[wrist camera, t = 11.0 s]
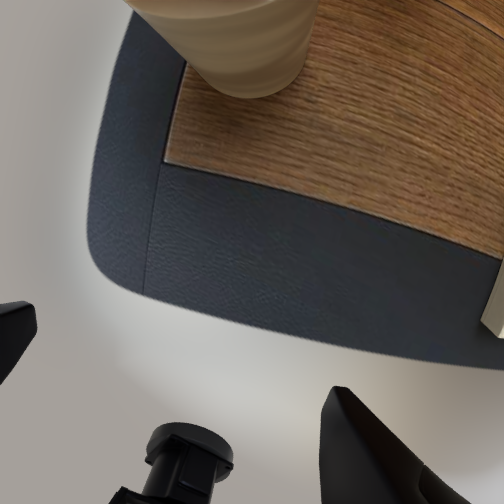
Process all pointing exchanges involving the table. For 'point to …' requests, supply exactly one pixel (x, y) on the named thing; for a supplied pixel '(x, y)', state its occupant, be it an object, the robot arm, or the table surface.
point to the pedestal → (236, 39)
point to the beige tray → (496, 306)
